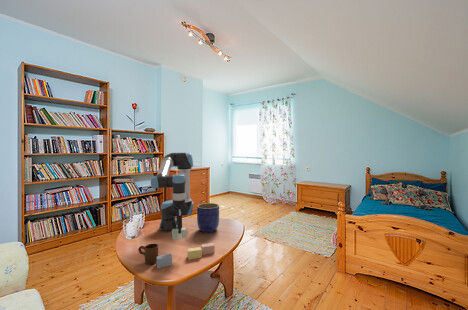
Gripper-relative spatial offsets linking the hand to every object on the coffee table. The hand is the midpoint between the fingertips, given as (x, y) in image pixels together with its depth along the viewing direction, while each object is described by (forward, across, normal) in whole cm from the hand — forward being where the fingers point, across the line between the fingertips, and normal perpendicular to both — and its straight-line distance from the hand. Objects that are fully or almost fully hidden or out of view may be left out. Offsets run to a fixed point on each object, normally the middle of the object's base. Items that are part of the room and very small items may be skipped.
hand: (179, 236), depth 131 cm
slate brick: (+13, +7, -9) cm, 17 cm away
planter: (+13, -37, +27) cm, 47 cm away
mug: (+13, 0, -18) cm, 22 cm away
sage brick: (0, 0, 0) cm, 0 cm away
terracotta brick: (+13, +1, +18) cm, 22 cm away
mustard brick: (+13, +4, +9) cm, 16 cm away
